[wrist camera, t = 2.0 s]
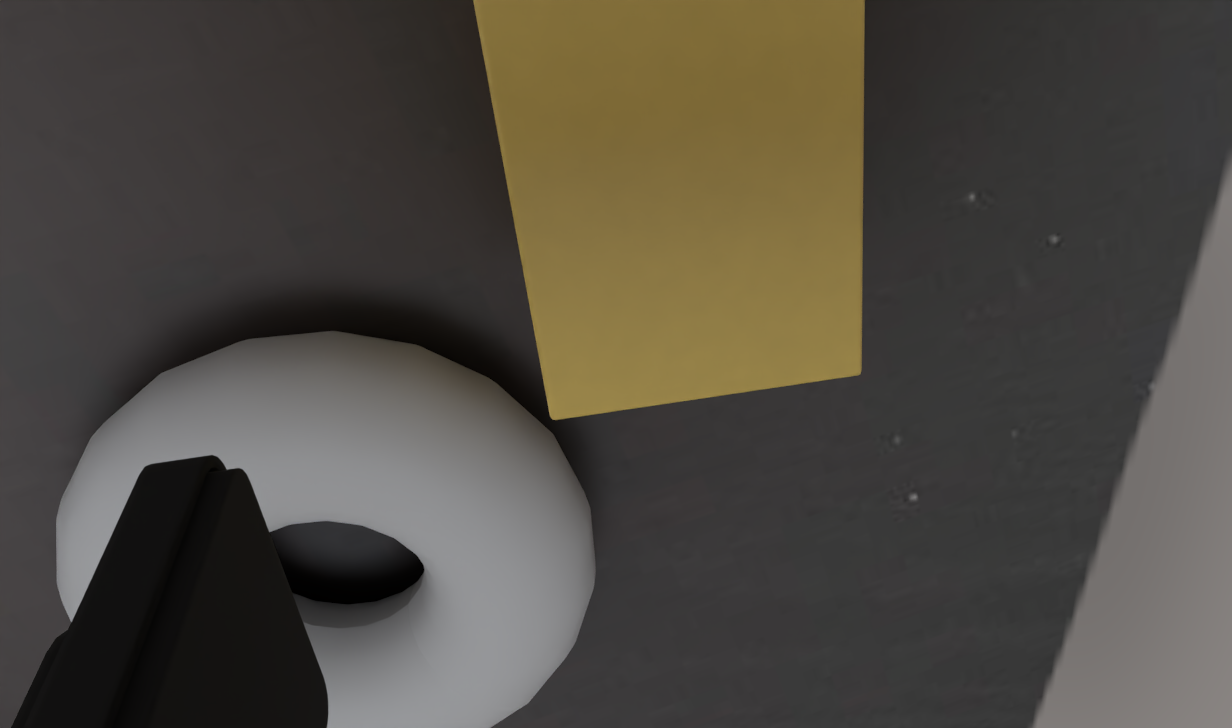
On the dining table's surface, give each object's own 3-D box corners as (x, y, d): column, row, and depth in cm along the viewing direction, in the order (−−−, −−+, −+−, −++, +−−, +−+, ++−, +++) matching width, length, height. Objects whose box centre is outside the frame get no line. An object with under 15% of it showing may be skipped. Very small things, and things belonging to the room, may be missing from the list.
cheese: (477, -92, 17) (471, -4, 12) (773, -133, 17) (867, -62, 12) (539, 260, 20) (550, 423, 16) (785, 224, 20) (863, 376, 16)
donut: (144, 219, 19) (47, 623, 23) (81, 317, 16) (-16, 758, 20) (668, 386, 22) (492, 717, 26) (696, 495, 19) (492, 847, 23)
